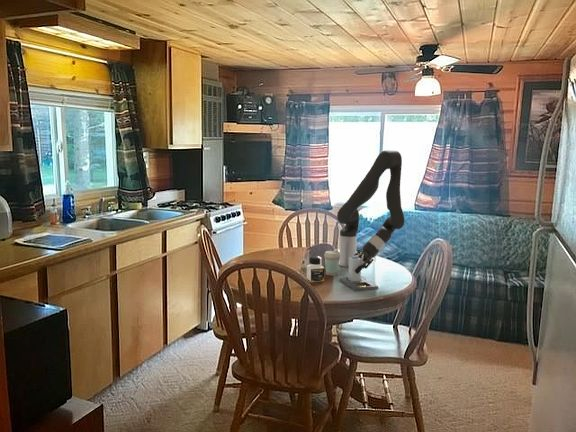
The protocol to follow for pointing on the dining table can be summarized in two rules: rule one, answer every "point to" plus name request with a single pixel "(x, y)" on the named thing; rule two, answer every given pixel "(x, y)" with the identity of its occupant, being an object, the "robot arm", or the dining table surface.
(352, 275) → the plug
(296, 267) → the dining table surface
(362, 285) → the panel
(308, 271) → the medicine bottle
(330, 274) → the coffee cup
